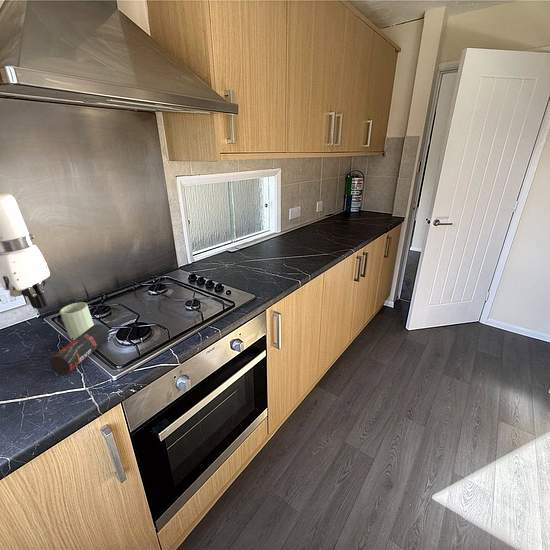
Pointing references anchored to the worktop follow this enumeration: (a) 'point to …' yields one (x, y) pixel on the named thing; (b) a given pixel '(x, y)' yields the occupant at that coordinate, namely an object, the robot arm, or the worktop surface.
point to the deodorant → (79, 349)
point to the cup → (76, 319)
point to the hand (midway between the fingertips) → (40, 306)
